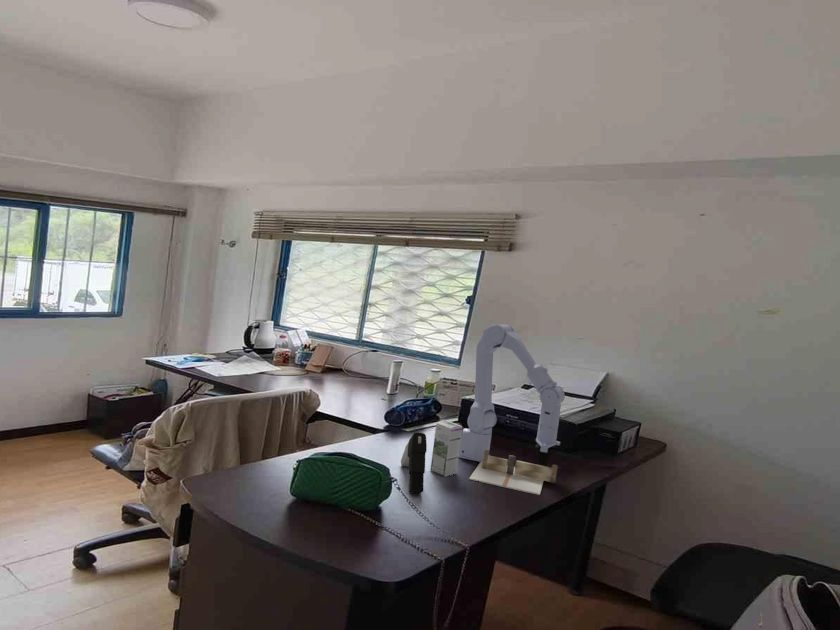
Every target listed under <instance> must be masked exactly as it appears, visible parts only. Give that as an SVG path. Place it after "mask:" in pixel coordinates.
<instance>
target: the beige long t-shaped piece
mask: <svg viewBox="0 0 840 630" xmlns="http://www.w3.org/2000/svg"><path fill="white" fill-rule="evenodd" d="M514 467H515V471H514V474H516V475H520V476H525V477H530V478H534V479H539V480H543V482H544V481H545V482H548V483H551V484H552V483H553V484H556V480H557V479H556V478H557V474H558V465H557V464H551V466H547V467H546V466H541V465H538V463H537V464H535V463H531V462H526V461H522V460H516V459H515V465H514Z"/></svg>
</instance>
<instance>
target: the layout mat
mask: <svg viewBox="0 0 840 630" xmlns="http://www.w3.org/2000/svg"><path fill="white" fill-rule="evenodd" d="M482 463H483V462H479V464H478V465H477V467H476V468H475V470H473V472H472V474H471V475H470V477H469V479H470V480H471V481H475V482H478V481H479V483H482V484H488V485H493V486H497V487H502V488H506V489H510V490H514V491H515V490H516V491H519V492H524V493H529V494H533V495H536V496H540V495H541V492H542V488H543V485H544V481H543V480H539V479H534V478H530V477H525V476H520V475H516V474H514V472H513V475H509V474H507V470H506V473H503V472H498V471H494V470H489V469H483V468H482ZM507 466H508V464H507ZM514 471H515V466H514Z"/></svg>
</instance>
